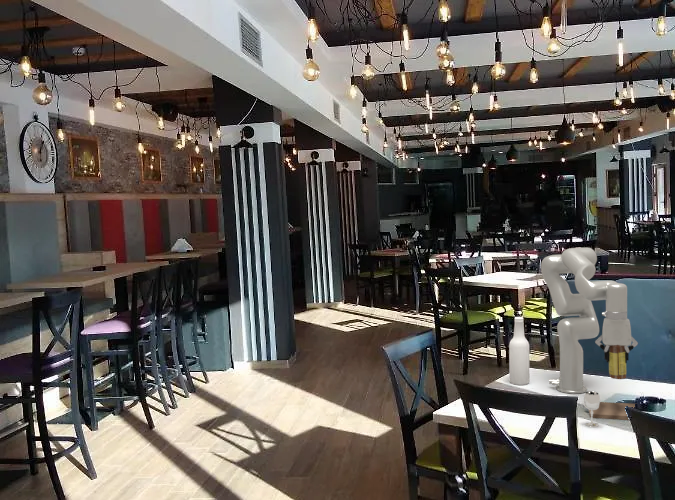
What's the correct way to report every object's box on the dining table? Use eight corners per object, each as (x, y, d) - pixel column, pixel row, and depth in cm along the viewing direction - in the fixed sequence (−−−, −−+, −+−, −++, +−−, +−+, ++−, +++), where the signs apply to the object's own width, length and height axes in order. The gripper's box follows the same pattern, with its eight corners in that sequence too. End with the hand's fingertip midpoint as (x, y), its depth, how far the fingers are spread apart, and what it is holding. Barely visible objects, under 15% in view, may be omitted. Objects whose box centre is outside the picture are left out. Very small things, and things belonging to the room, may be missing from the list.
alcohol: (509, 385, 299) (509, 319, 296) (509, 379, 307) (508, 315, 305) (530, 385, 297) (529, 319, 294) (528, 380, 305) (528, 315, 303)
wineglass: (580, 422, 248) (580, 391, 247) (595, 421, 249) (595, 390, 248) (587, 427, 243) (587, 395, 242) (603, 427, 243) (603, 394, 242)
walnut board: (590, 417, 253) (590, 413, 253) (587, 404, 269) (587, 401, 268) (647, 421, 248) (647, 417, 247) (641, 407, 263) (641, 404, 263)
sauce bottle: (625, 376, 258) (626, 325, 257) (627, 380, 253) (627, 328, 251) (607, 375, 261) (607, 325, 259) (608, 379, 255) (608, 328, 253)
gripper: (593, 316, 254) (593, 363, 255) (642, 317, 249) (642, 365, 250) (591, 313, 261) (591, 358, 262) (639, 314, 256) (639, 360, 257)
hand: (616, 361), depth 256 cm, fingers closed on sauce bottle, 5 cm apart
